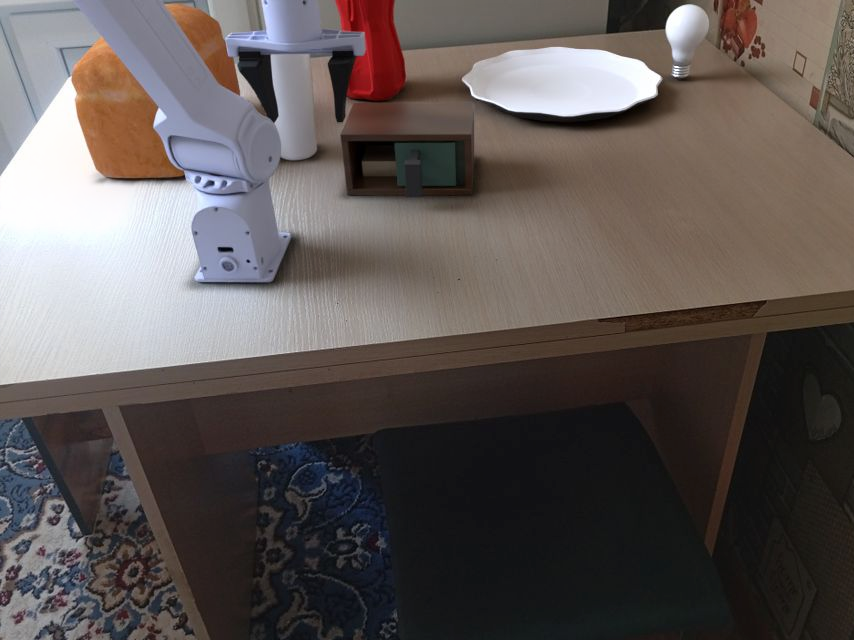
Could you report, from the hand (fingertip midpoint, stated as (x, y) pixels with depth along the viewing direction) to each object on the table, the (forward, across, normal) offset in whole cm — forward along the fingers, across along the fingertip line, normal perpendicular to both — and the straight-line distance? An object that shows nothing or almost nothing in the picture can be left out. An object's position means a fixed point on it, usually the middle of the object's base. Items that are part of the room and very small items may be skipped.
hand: (307, 119), depth 89 cm
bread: (+10, +23, -17) cm, 30 cm away
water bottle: (+10, -2, -34) cm, 35 cm away
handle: (+8, -13, +2) cm, 16 cm away
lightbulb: (+10, -50, -40) cm, 65 cm away
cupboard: (+9, -11, -5) cm, 15 cm away
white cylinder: (+10, +5, -12) cm, 16 cm away
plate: (+10, -31, -34) cm, 47 cm away
